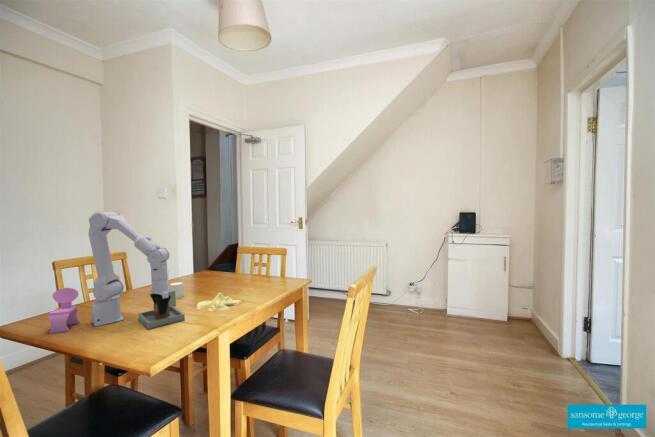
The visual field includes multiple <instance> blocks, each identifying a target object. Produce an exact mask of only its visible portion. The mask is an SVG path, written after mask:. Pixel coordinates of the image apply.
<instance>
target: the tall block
mask: <svg viewBox="0 0 655 437" xmlns="http://www.w3.org/2000/svg"><path fill="white" fill-rule="evenodd" d="M168 295H170V296H171V298H170V300H169V302H168V303H169V306H173V307H176V306H177V302H176V300H177V299H176V297H175V291H174V290H173V289H171V290H169V291H168Z"/></svg>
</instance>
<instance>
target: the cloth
mask: <svg viewBox="0 0 655 437" xmlns="http://www.w3.org/2000/svg"><path fill="white" fill-rule="evenodd" d="M240 304H242V301H241V300H239V299H233V298H232V297H230V296H224V295H223V293H222V292H218V293H216V296H214V298H213V299H212V300H203V301H198V303H197V304H196V309H197V310H201V309H205V308H206V310H207V311H209V312H214V310H215V311H216V310H218V311H229V310H231V309H230V307H229V306H239V305H240Z"/></svg>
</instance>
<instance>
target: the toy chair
mask: <svg viewBox="0 0 655 437" xmlns="http://www.w3.org/2000/svg"><path fill="white" fill-rule="evenodd" d="M78 297H79V291H78V290H76V289H75V288H73V287H63V288H60V289H57V290H55V291H54V292H53V293H52V299H53V300H54V301H55V302H56V303H59V304H60V305H61V307H57V308H55V309H54V310H52V311H50V312H49V313H48V321H49V324H50V330H49V334H56V333H66V332H70V331H71V330H70V328H69V325H77V324H79V325H80V324H81V322H80V321H79V319H78V317H77V313H78V311H79V308H78V306H77V305H76V306H72V303H73V301H75V300H76V299H77V298H78Z"/></svg>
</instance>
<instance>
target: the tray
mask: <svg viewBox="0 0 655 437" xmlns="http://www.w3.org/2000/svg"><path fill="white" fill-rule="evenodd" d="M169 313H170V316H167V317H163V318H158V319H157V318H156V317H155V316H154V309H152V310H147V311H142V312H139V313H138V316H137V318H138V321H139V322H140V323H142V325H143V326H144V327H145V328H146V329H147V330H152V329H156V328H160V327H165V326H169V325H172V324H176V323H179V322H184V321H185V313H184V312H181V310H179V309H178V308H177V307H176V306H174V307H173V306H169Z"/></svg>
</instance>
